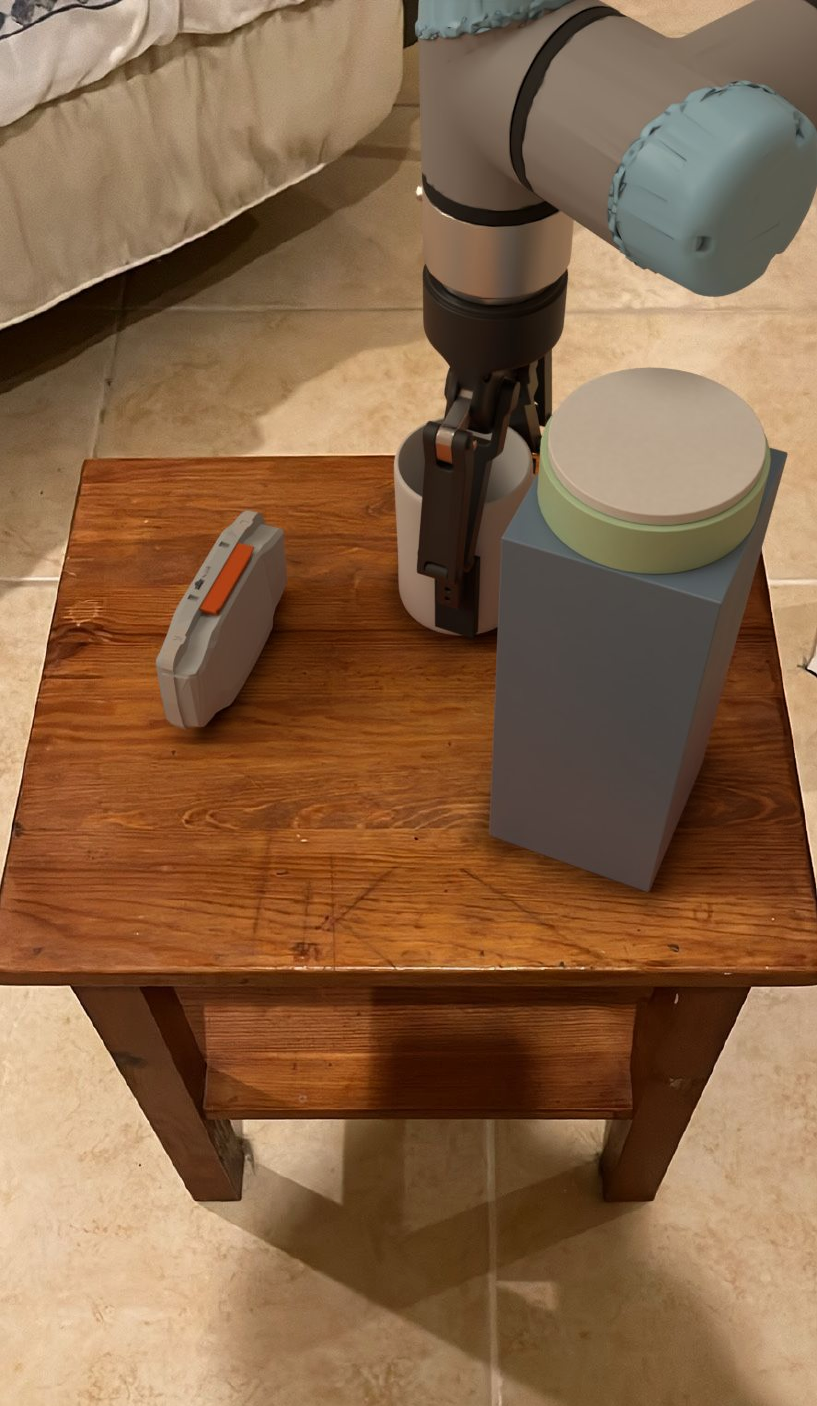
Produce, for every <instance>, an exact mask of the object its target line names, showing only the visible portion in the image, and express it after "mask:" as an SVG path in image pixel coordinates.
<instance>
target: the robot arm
mask: <svg viewBox="0 0 817 1406" xmlns="http://www.w3.org/2000/svg"><path fill="white" fill-rule="evenodd" d="M417 7H418V9H417V20H416V22H415V24H414V30H415V36H416V37H417V45H418V46H417V47H418V49H417V51H418V83H419V84H418V85H419V86H418V87H419V125H420V129H419V130H420V166H421V168H420V169H421V181H420V182H418V185H417V187H416V190H415V191H414V192H415V199H416V200H417V202H419V203H421V204H422V255H423V262H424V265H423V269H422V325H423V331H424V333H425V336H426V338H427V341H428V342H429V344H430V345H431V346H432V348H433V349H434V350H435V351H436V352H437V353H438V355H440V356H441V358H443V360H444V361H445V362H446V363H447V364H448V366H449V368H448V371H447V374H446V378H445V384H444V389H443V394H444V398H445V401H446V404H445V410H444V414H443V415H444V416H443V417H444V421H443V424H440V423H437V422H433V421H432V420H428V421H427V422H426V423H427V424H426V426H425V428H424V430H423V449H424V458H425V467H424V480H423V493H422V506H421V520H420V533H419V546H418V553H417V555H418V559H417V573H418V574H421V575H425V576H427V577H431V578H434V579H435V627H438V628H441V629H444V630H447V631H451V632H454V633H457V634H460V635H463V636H462V637H467V638H469V639H472V640H474V639H475V637H476V636H477V635H478V634H477V632H478V619H479V590H480V560H481V557H480V556H477V555H475V550H476V545H477V539H478V534H479V529H480V524H481V519H482V514H483V508H484V503H485V498H486V493H487V488H488V483H489V477H490V472H491V467H492V462H493V459H495V458H496V457H497V456H499V455H500V454H501V453H502V452H503V449H504V445H505V440H506V434H507V429H508V426H509V427H510V428H512V429H513V430H515V431H516V432H517V433H518V434H519V435H520V436H521V437H522V438H523V439H524V440H525V442H526V443H527V445H528V447H529V449H530V452H531V455H532V456H533V454H534V455H539V456H540V447H541V438H542V435H543V434H542V432H541V428H542V427H543V428H545V426H546V424H547V422H548V420H549V419H550V417H551V416H552V414H553V349H554V347H556V345H557V344H558V342H559V340H560V339H561V337H562V334H563V331H564V327H565V318H566V317H565V316H566V305H567V294H568V283H569V282H568V281H569V269H568V267H569V265H570V263H571V257H572V248H573V237H574V227H575V226H574V225H575V222H576V223H578V224H579V225H580V226H582V227H584V228H585V229H587V230H588V231H589V232H591V233H593V234H594V235H595V236H597V237H598V238H600V239H601V240H603V241H604V242H606V243H607V244H609V245H610V246H612V247H613V248H614V249H616V250H617V251H619V253H620V254H622V255H624V257H625V258H626V259H627V260H628V261H629V262H631V263H633V264H634V265H635V266H637V267H638V268H640V269H641V270H643V271H644V270H649V271H650V272H651V273H654V274H655V275H656V274H659V275H660V276H662V277H664V278H666V279H668V280H670V281H672V282H673V283H675V284H677V285H679V286H681V287H683V288H684V289H686V290H688V291H690V292H692V293H694V294H695V295H698V296H701V297H709V298H718V297H725V296H728V295H729V296H730V295H732V294H735V293H737V292H740V291H742V290H743V289H745V288H747V287H749V286H750V285H752V284H753V283H754V282H756V281H757V280H758V279H760V278H761V277H762V276H763V275H764V274H765V273H766V271H767V269H768V268H769V265H770V263H771V261H772V260H773V258H774V257H775V256H776V255H780V254H783V253H784V252H785V251H786V250H787V249H788V247H789V246H790V245H791V244H792V242H793V240H794V239H795V238H796V235H797V234H798V232H799V230H800V229H801V227H802V224H803V223H804V221H805V219H806V217H807V215H808V213H809V211H810V209H811V207H812V203H813V200H814V197H815V195H816V191H817V0H753V1H750V2H749V3H747V4H745V5H743V6H741V7H738V8H737V9H735V10H733V11H731V12H729V13H727V14H725V15H723V16H721V17H719V18H717V19H714V20H712V21H711V22H709V23H707V24H705V25H703V26H701V27H699V28H697V29H695V30H693V31H691V32H689V33H687V34H686V35H683V36H681V37H668V36H666V35H664V34H662V33H660V32H659V31H657V30H655V29H653V28H651V27H649V26H647V25H645V24H644V23H641V22H639V21H638V20H636V19H635V18H632V17H630V16H628V15H626V14H624V13H622V12H621V11H620V10H618V9H617V8H615V7H612V6H611V5H609V4H607V3H606V2H603V1H602V0H418V6H417ZM467 430H470V431H474V432H477V433H481V434H491V433H492V436H491V440H487V439H484V438H480V437H477V436H473V433H472V432H469V431H467ZM532 461H533V474H535V475H536V471H537V458H535V457H532Z"/></svg>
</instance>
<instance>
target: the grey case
mask: <svg viewBox="0 0 817 1406" xmlns="http://www.w3.org/2000/svg"><path fill="white" fill-rule="evenodd" d="M285 544H286V543H285V534H284V530H283V529H282V528H281V527H276V526H273V525H269V524H267V523H266V520H265V518H264V517H263V514H262V513H261V512H258V511H254V510H248V509H246V510H244V511H243V512H241V513H240V514H239V515H238V517H236V518H235V520H234V521H233V522H232V523H231V524H230V525H228V526H227V527H226V528H225V529H224V530H223V531H221V533H220V534H219V536H218V538H217V540H216V541H215V543H214V545H213V546H212V548H211V549H210V551H209V553H208V555H207V556H206V558H205V560H204V561H203V562H202V565H201V566H200V568H199V570H198V572H197V573H196V575H195V577H194V578H193V580H192V581H191V582H190V585H189V586H188V588H187V590H186V592H185V593H184V595H183V597H182V598H181V600H180V602H179V603H178V604H177V607H176V609H175V611H174V613H173V615H172V618H171V621H170V624H169V627H168V630H167V633H166V636H165V638H164V641H163V644H162V646H161V648H160V651H159V652H158V655H157V656H156V659H155V669H156V675H157V680H158V685H159V692H160V698H161V702H162V706H163V710H164V715H165V718H166V721H167V722H168V723H169V724H170V725H172V726H173V727H175V728H178V729H182V730H186V731H188V730H191V728H205V726H207V724H208V723H209V722H210V721H211V720H212V719H213V717H214V716H215V715H216V713H218V712H219V711H221V710H223V709H225V708H227V707H231V706H230V705H232V703H233V702H234V701H235V699H236V698H237V696H238V694H239V693H240V691H241V690H242V688H243V687H244V684H245V683H246V681H247V679H248V678H249V676H250V674H251V672H252V671H253V669H254V667H255V664H256V662H258V659H259V657H260V655H261V653H262V651H263V649H264V647H265V645H266V643H267V641H268V639H269V636H270V635H271V632H272V629H273V627H274V617H275V616H274V615H275V611H276V608H277V606H278V604H279V602H280V600H281V598H282V595H283V593H284V591H285V588H286V586H287V584H288V572H287V569H288V568H287V558H286V545H285Z"/></svg>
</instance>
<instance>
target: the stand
mask: <svg viewBox="0 0 817 1406" xmlns="http://www.w3.org/2000/svg"><path fill="white" fill-rule="evenodd" d="M769 448H770V458H771V462H770V469H769V474H768V478H767V481H766V485H765V489H764V493H763V496H762V500H761V504H760V508H759V512H758V515H757V518H756V521H755V523H754V525H753V527H752V529H751V531H750V533H749V534H748V535H747V536H746V538H745V539H744V540H743V541H742V542H741V543H740V544H739V545H738V546H737V547H736V548H735V549H734V550H732V551H731V552H729V553H728V554H727V555H725V556H724V557H722V558H720V559H718V560H716V561H714V562H712V563H710V564H707V565H705V566H702V567H699V568H696V569H692V570H688V571H684V572H677V573H670V574H639V573H633V572H626V571H621V570H617V569H613V568H609V567H607V566H604V565H601V564H598V563H596V562H593V561H591V560H589V559H587V558H585V557H583V556H582V555H580V554H578V553H577V552H575V551H573V550H572V549H571V548H569V547H568V546H567V545H566V544H564V543H563V542H562V541H561V540H560V539H559V538H558V537H557V536H556V535H555V534H554V533H553V531H552V530H551V528H550V527H549V526H548V524H547V523H546V521H545V519H544V517H543V515H542V513H541V509H540V506H539V503H538V494H537V489H538V475H539V472H538V473H537V474H536V475H537V476H536V478H535V480H534V482H533V483H532V485H531V487H530V489H529V490H528V492H527V494H526V496H525V498H524V499H523V501H522V503H521V505H520V506H519V508H518V510H517V512H516V513H515V515H514V517H513V519H512V520H511V522H510V524H509V526H508V527H507V529H506V531H505V533H504V535H503V536H502V542H501V565H500V589H499V612H498V627H497V637H496V640H497V641H496V660H495V661H496V662H495V664H496V665H495V685H494V687H495V688H494V706H493V707H494V709H493V710H494V711H493V732H492V733H493V734H492V754H491V755H492V756H491V757H492V758H491V777H490V778H491V779H490V801H489V802H490V804H489V805H490V806H489V825H488V826H489V828H488V831H489V832H488V835H489V836H490V837H493V838H494V839H498V840H500V841H503V842H505V843H509V844H512V845H515V846H517V847H520V848H523V849H525V850H528V851H532V852H534V853H537V854H540V855H543V856H545V857H548V858H550V859H553V860H556V861H559V862H562V863H564V864H568V865H570V866H573V867H576V868H579V869H581V870H584V871H587V872H590V873H592V874H595V875H598V876H601V877H604V878H607V879H610V880H612V881H614V882H617V883H621V884H623V885H626V886H629V887H632V888H635V889H637V890H641V891H643V892H646V893H650V891H651V889H652V887H653V884H654V881H655V879H656V877H657V875H658V872H659V870H660V867H661V865H662V862H663V860H664V857H665V855H666V852H667V851H668V848H669V845H670V843H671V840H672V838H673V835H674V833H675V831H676V829H677V827H678V823H679V821H680V819H681V816H682V814H683V811H684V808H685V807H686V804H687V802H688V799H689V797H690V794H691V792H692V791H693V788H694V785H695V782H696V780H697V778H698V776H699V773H700V770H701V768H702V766H703V763H704V759H705V755H706V752H707V748H708V745H709V741H710V737H711V733H712V731H713V726H714V723H715V719H716V716H717V715H716V714H717V712H718V708H719V704H720V701H721V698H722V694H723V691H724V686H725V683H726V679H727V676H728V673H729V668H730V665H731V661H732V658H733V654H734V650H735V647H736V642H737V639H738V636H739V633H740V629H741V626H742V621H743V617H744V615H745V610H746V607H747V603H748V599H749V596H750V592H751V589H752V585H753V581H754V578H755V574H756V571H757V567H758V564H759V559H760V556H761V552H762V549H763V545H764V541H765V538H766V535H767V530H768V527H769V523H770V520H771V517H772V513H773V509H774V505H775V502H776V498H777V495H778V491H779V487H780V483H781V480H782V476H783V472H784V469H785V466H786V462H787V458H788V452H787V451H784V450H781V449H777V448H773V447H769Z"/></svg>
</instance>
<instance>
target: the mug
mask: <svg viewBox="0 0 817 1406" xmlns="http://www.w3.org/2000/svg"><path fill="white" fill-rule="evenodd" d="M431 421H433V422H437V423H440V424H443V421H444V416H443V417H438V418H435V419H433V420H431ZM426 424H427V422H425V423H423V424H420V425H419V426H418V427H416V428H415V429H413V430H412V431H411V432H410V433H409V434H407V435H406V437H404V439H402V441H401V443H400V444H399V446H398V448H397V450H396V453H395V455H394V459H393V481H394V483H393V484H394V503H395V504H394V505H395V520H396V521H395V523H396V524H395V525H396V543H397V565H398V567H397V570H398V571H397V573H398V592H399V596H400V600H401V602H402V604H403V607H404V608H405V610H406V612H407V613H408V614H409V615H410V616H411V617H412V618H413V619H414V620H415V621H416V622H417V623H418V624H420V625H422V626H424V627H425V628H427V629H429V630H431V631H434V632H436V633H440V634H443V635H447V636H448V635H449V636H456V637H457V636H459V637H464V636H463V635H460V634H457V633H454V632H451V631H447V630H444V629H441V628H438V627H435V579H434V578H431V577H427V576H425V575H421V574H418V573H417V559H418V555H417V553H418V546H419V533H420V520H421V506H422V493H423V480H424V467H425V458H424V449H423V430H424V428H425V426H426ZM467 431H469V432H472V433H473V436H477V437H480V438H484V439H487V440H491V436H492V433H491V434H481V433H477V432H474V431H470V430H467ZM532 458H533V455H531V452H530V449H529V447H528V445H527V443H526V442H525V440H524V439H523V438H522V437H521V436H520V435H519V434H518V433H517V432H516V431H515V430H513V429H512V428H510V427H509V426H508V429H507V434H506V440H505V445H504V449H503V452H502V453H501V454H500V455H499V456H497V457H496V458H495V459H493V462H492V467H491V472H490V477H489V483H488V488H487V493H486V498H485V503H484V508H483V514H482V519H481V524H480V529H479V534H478V539H477V545H476V550H475V555H477V556H480V557H481V560H480V590H479V619H478V632H477V634H476V635H480V634H485V633H488V632H489V631H493V630H495V629H498V612H499V589H500V565H501V542H502V536H503V535H504V533H505V531H506V529H507V527H508V526H509V524H510V522H511V520H512V519H513V517H514V515H515V513H516V512H517V510H518V508H519V506H520V505H521V503H522V501H523V499H524V498H525V496H526V494H527V492H528V490H529V489H530V487H531V485H532V483H533V482H534V480H535V478H536V476H537V475H538V474H536V473H535V474H533V461H532Z"/></svg>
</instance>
